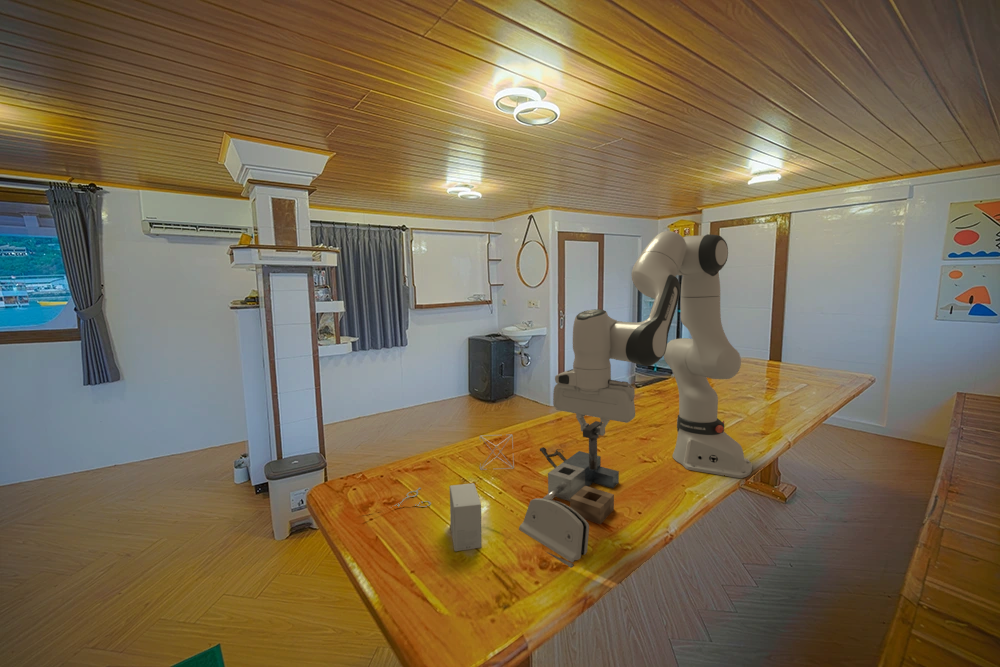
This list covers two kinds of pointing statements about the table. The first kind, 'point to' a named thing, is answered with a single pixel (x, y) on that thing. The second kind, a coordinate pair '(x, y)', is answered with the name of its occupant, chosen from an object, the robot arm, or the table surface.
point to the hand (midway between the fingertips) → (592, 432)
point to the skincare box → (465, 517)
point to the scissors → (414, 496)
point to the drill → (578, 476)
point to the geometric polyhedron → (499, 452)
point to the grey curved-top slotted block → (557, 528)
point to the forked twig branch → (552, 455)
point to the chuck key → (592, 443)
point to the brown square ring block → (592, 504)
